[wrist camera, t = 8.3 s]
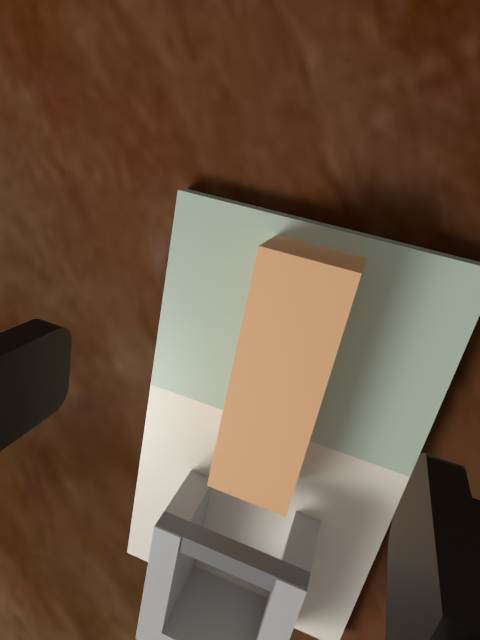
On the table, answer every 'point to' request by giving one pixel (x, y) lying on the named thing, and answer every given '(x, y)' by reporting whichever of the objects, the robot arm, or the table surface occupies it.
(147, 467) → the two-tone mat
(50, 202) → the table surface
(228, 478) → the tan wooden plank
